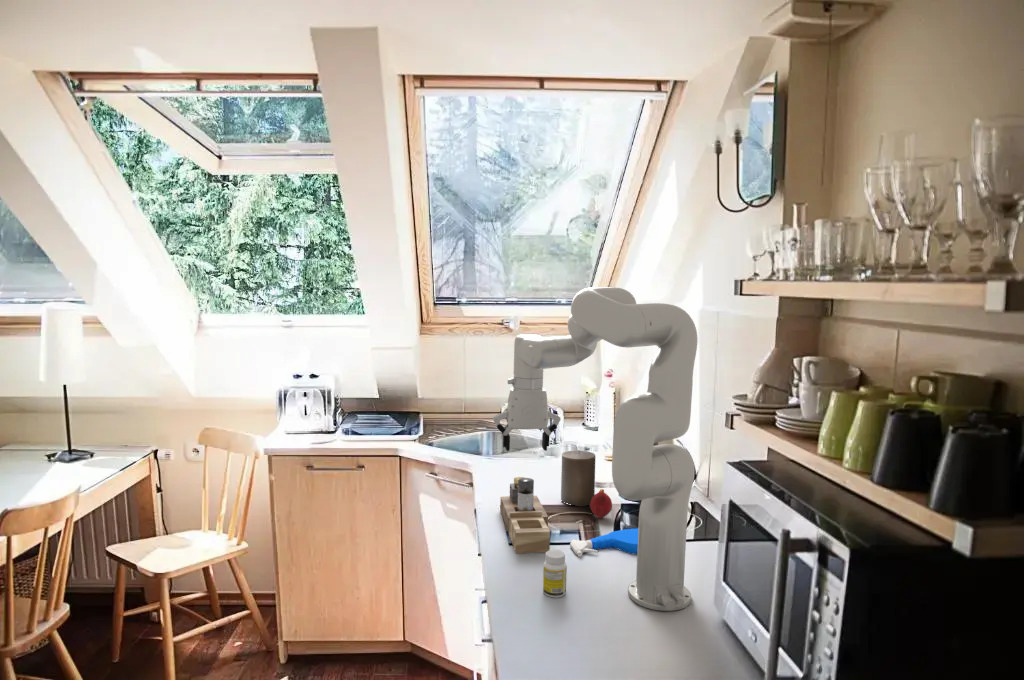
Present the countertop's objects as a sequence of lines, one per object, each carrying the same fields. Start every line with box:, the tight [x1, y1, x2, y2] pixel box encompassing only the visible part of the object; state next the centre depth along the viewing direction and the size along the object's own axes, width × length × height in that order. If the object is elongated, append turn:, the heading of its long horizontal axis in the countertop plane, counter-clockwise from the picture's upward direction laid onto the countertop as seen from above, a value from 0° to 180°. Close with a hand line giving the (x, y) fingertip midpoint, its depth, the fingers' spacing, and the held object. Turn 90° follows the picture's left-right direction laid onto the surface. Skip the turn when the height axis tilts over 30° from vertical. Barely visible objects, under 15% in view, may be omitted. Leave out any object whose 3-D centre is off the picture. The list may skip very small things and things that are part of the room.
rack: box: [508, 511, 551, 554], centre depth 167 cm, size 11×8×6 cm
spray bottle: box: [569, 527, 638, 557], centre depth 166 cm, size 3×11×24 cm
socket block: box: [499, 483, 549, 534], centre depth 181 cm, size 16×10×8 cm, turn 8°
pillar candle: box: [560, 449, 596, 507], centre depth 197 cm, size 10×10×15 cm
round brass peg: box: [513, 476, 526, 488], centre depth 186 cm, size 4×4×4 cm
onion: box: [589, 488, 613, 519], centre depth 184 cm, size 6×6×8 cm
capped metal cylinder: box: [518, 477, 535, 511], centre depth 178 cm, size 4×4×12 cm
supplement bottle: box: [542, 549, 568, 599], centre depth 142 cm, size 5×5×8 cm
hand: (525, 449), depth 176 cm, fingers open, 9 cm apart
